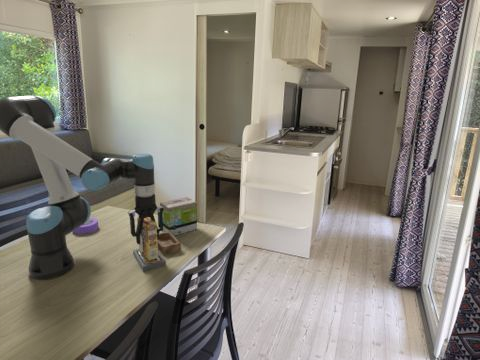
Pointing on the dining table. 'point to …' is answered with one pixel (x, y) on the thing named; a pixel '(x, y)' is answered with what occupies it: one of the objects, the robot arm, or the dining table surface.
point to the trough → (168, 243)
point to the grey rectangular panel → (147, 259)
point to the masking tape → (87, 227)
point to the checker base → (150, 265)
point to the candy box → (149, 239)
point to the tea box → (179, 215)
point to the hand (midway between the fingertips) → (148, 248)
